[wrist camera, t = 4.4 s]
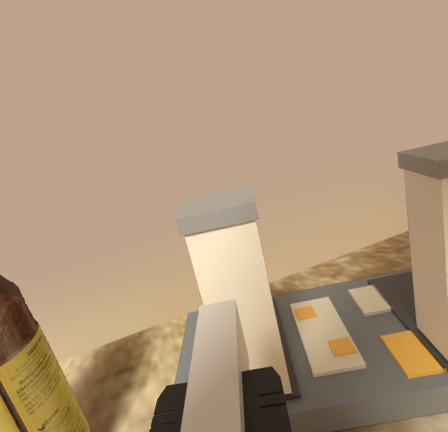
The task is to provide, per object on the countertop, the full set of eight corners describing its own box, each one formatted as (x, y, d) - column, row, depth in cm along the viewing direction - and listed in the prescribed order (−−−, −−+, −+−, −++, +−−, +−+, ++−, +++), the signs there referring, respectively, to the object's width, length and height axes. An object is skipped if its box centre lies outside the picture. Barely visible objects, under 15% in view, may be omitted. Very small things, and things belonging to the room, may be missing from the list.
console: (416, 285, 34) (414, 263, 33) (539, 396, 21) (540, 362, 20) (193, 329, 36) (187, 308, 35) (172, 458, 22) (161, 429, 22)
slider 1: (284, 349, 26) (249, 185, 22) (295, 395, 22) (254, 201, 18) (228, 360, 26) (184, 200, 23) (228, 406, 22) (175, 218, 18)
